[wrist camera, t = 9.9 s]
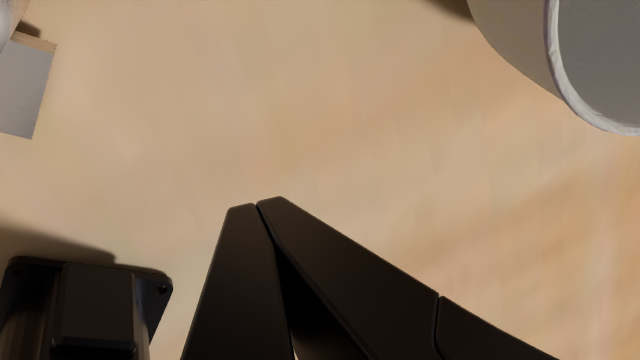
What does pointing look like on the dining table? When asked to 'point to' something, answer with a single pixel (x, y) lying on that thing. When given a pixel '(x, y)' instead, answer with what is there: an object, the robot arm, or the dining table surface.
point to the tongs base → (21, 72)
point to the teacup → (573, 53)
